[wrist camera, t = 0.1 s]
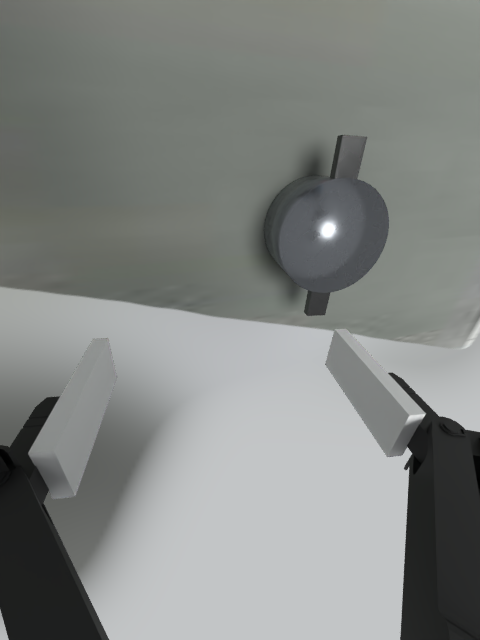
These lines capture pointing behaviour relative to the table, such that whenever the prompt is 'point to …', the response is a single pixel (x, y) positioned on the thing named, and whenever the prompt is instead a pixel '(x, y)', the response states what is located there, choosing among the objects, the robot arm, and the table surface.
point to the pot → (328, 227)
